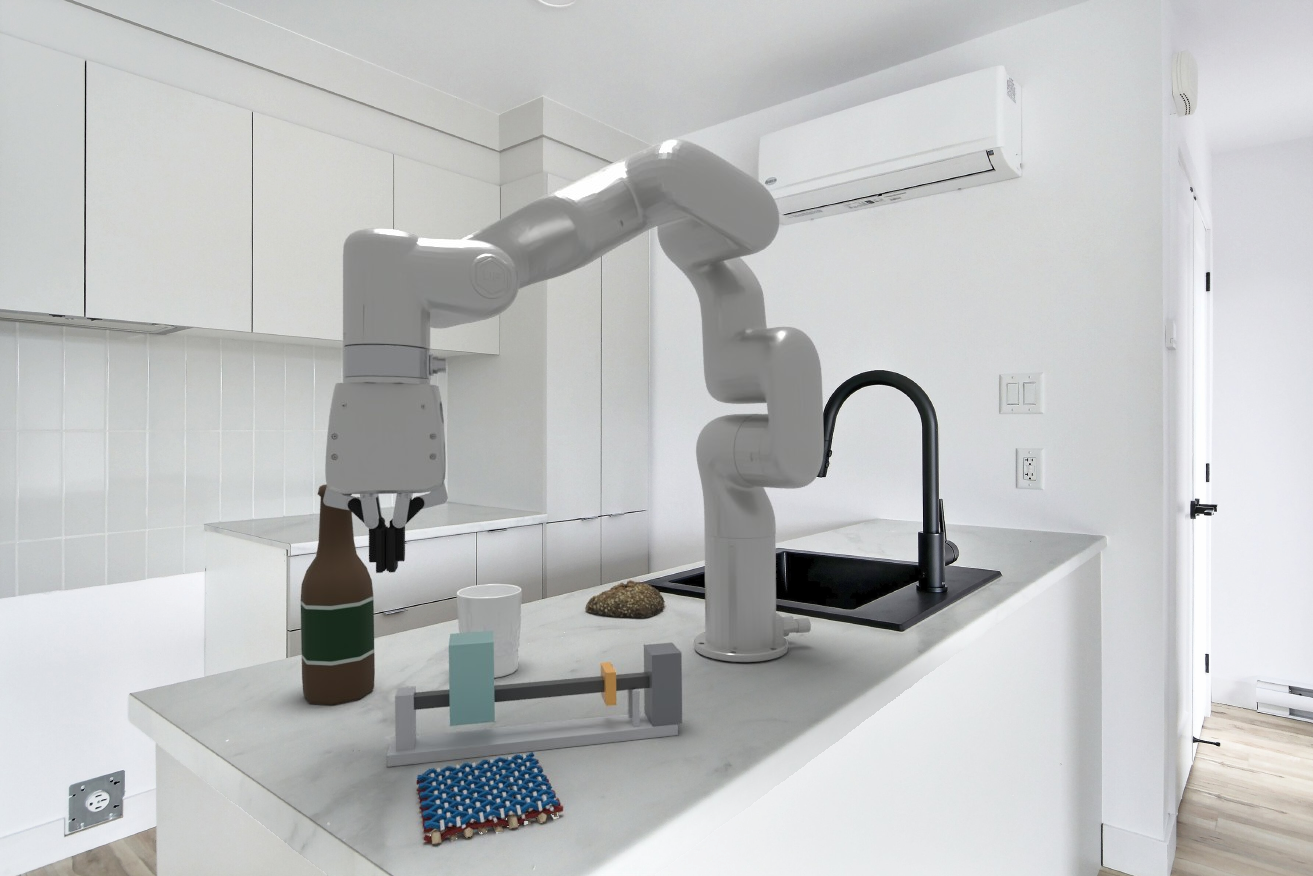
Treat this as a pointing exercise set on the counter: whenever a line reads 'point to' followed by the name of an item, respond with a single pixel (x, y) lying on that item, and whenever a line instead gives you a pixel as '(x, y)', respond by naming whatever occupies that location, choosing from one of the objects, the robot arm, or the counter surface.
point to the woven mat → (484, 796)
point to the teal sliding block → (471, 678)
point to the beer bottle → (337, 615)
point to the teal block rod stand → (654, 722)
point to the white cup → (494, 620)
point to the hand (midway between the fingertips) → (387, 569)
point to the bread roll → (627, 601)
